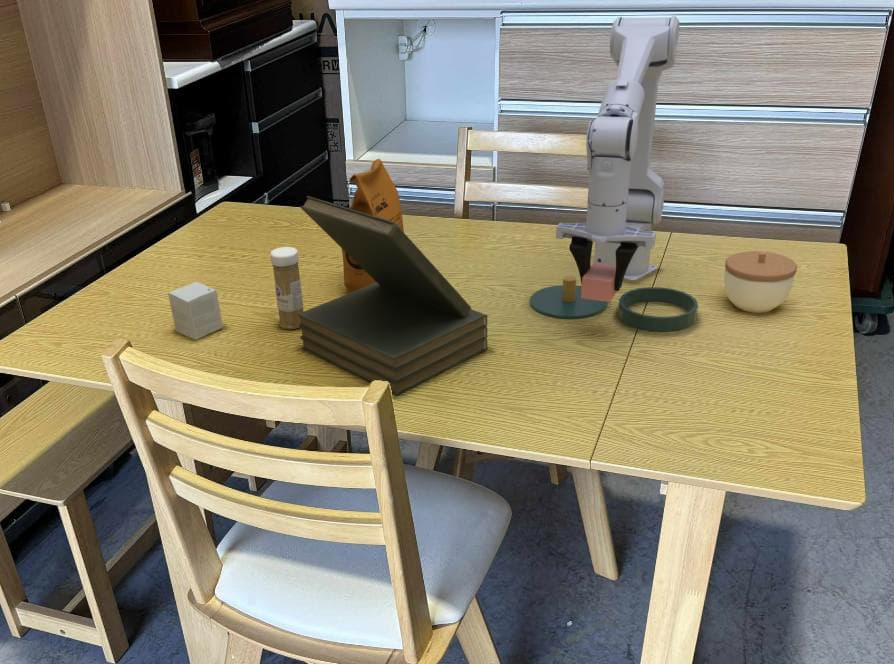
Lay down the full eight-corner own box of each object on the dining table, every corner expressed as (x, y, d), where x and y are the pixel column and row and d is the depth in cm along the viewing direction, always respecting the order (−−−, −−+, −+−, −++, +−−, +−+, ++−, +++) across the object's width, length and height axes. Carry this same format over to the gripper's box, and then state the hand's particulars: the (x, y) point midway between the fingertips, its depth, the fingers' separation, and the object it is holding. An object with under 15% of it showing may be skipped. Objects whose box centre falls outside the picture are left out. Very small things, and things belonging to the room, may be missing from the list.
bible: (487, 350, 137) (487, 194, 124) (396, 396, 126) (386, 231, 114) (390, 310, 152) (381, 168, 139) (301, 348, 142) (283, 198, 129)
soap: (580, 298, 134) (582, 277, 132) (592, 282, 139) (593, 262, 137) (609, 302, 132) (611, 281, 130) (620, 286, 137) (622, 266, 135)
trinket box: (794, 321, 139) (805, 266, 134) (723, 319, 141) (732, 265, 136) (782, 294, 148) (792, 241, 143) (715, 293, 150) (723, 241, 145)
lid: (514, 307, 150) (514, 280, 147) (561, 284, 157) (562, 258, 154) (575, 329, 141) (577, 300, 139) (622, 303, 148) (625, 275, 146)
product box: (204, 319, 154) (197, 280, 150) (224, 328, 150) (217, 289, 146) (174, 331, 150) (166, 292, 147) (194, 341, 147) (186, 301, 143)
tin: (602, 320, 143) (604, 304, 142) (645, 297, 150) (646, 281, 149) (668, 342, 135) (670, 325, 134) (709, 316, 142) (712, 299, 141)
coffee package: (336, 293, 160) (324, 175, 149) (367, 269, 169) (358, 155, 158) (384, 300, 156) (376, 179, 145) (413, 275, 165) (408, 159, 154)
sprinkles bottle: (274, 326, 150) (264, 252, 143) (292, 316, 152) (283, 243, 146) (293, 332, 147) (283, 257, 140) (311, 323, 150) (303, 249, 143)
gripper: (551, 204, 128) (547, 289, 135) (651, 213, 122) (642, 302, 129) (565, 190, 133) (561, 273, 140) (662, 198, 127) (653, 284, 134)
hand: (601, 286), depth 135 cm, fingers closed on soap, 4 cm apart
